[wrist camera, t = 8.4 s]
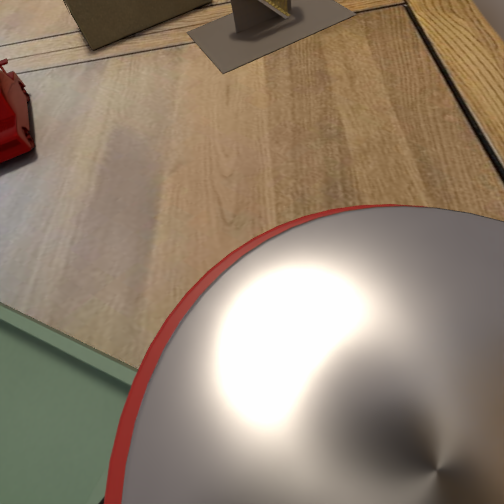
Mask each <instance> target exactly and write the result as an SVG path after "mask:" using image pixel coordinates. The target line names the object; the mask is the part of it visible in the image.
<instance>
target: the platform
mask: <svg viewBox="0 0 504 504" xmlns="http://www.w3.org/2000/svg"><path fill="white" fill-rule="evenodd" d="M231 5H232V10H233V13H231V14H229V15H226V16H224V17H222V18H219V19H217V20H214V21H212V22H210V23H207V24H205V25H203V26H200V27H198V28H196V29H193V30H191V31H188V32H187V33H188V35H189V36H190V37H191V38H192V39H193V40H194V41H195V42H196V44H197V45H198V46H199V47H200V48H201V49H202V50H203V52H204V53H205V54H206V55H207V56H208V57H209V58H210V59H211V61H212V62H213V63H214V64H215V65H216V66H217V67H218V69H219V70H220V71H221V72H222V73H225V72H228V71H230V70H232V69H234V68H237V67H239V66H241V65H243V64H246V63H248V62H250V61H252V60H255V59H257V58H259V57H261V56H264V55H266V54H268V53H270V52H273V51H275V50H277V49H279V48H282V47H284V46H286V45H288V44H291V43H293V42H295V41H297V40H300V39H302V38H304V37H306V36H309V35H311V34H313V33H315V32H318V31H320V30H322V29H324V28H327V27H329V26H331V25H333V24H336V23H338V22H340V21H342V20H345V19H347V18H349V17H351V16H354V15H356V14H355V13H354V12H352V11H350V10H349V9H347V8H345V7H344V6H342V5H340V4H338V3H337V2H335V1H333V0H231Z"/></svg>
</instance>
